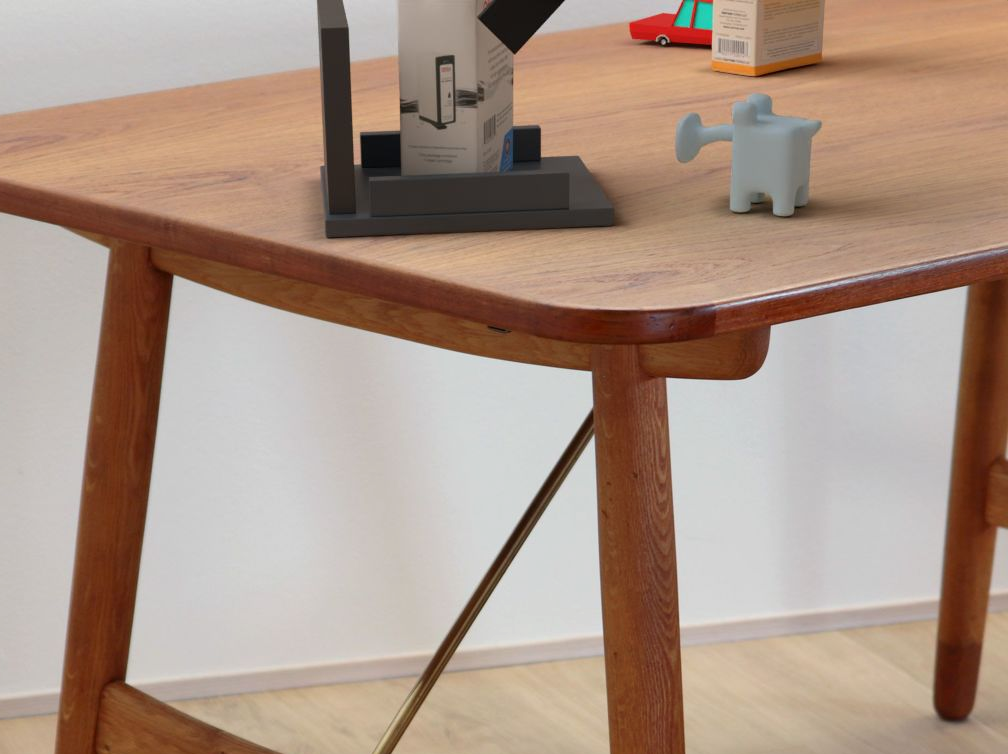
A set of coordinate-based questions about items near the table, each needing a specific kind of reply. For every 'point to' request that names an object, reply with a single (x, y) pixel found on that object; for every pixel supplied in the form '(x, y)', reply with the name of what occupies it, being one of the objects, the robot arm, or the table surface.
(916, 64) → the table surface
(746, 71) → the supplement box
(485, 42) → the ink box
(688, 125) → the figurine
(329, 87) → the cradle
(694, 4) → the toy car
